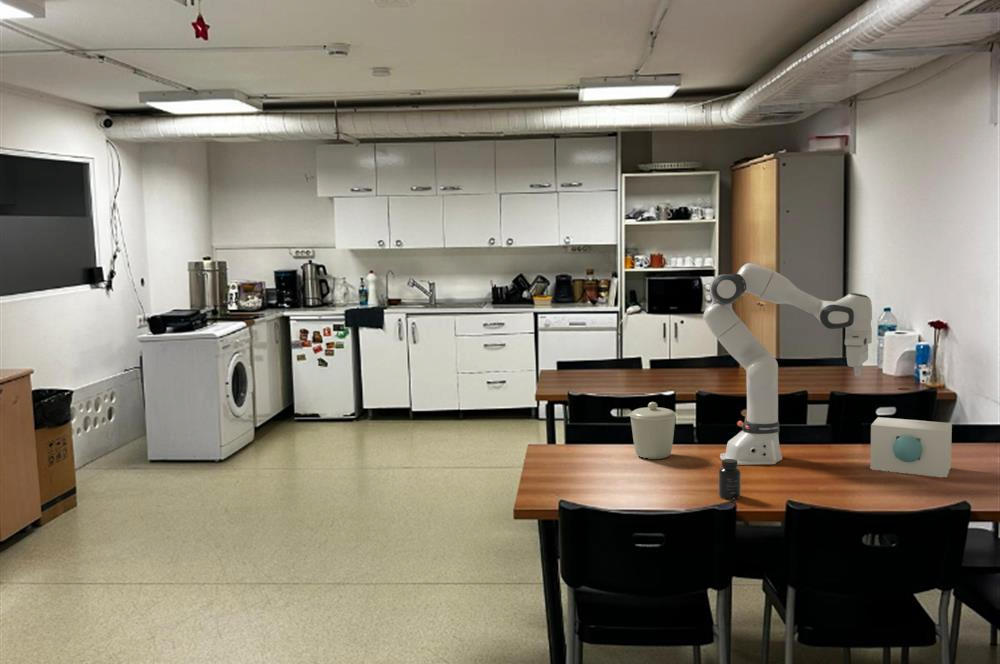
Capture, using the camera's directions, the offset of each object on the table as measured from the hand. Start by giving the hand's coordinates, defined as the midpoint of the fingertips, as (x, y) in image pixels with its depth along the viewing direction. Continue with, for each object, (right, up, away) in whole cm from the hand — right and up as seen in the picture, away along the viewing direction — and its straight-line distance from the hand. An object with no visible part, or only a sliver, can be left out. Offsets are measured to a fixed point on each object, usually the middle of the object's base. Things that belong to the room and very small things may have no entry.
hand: (857, 375), depth 319 cm
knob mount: (+14, -32, -11) cm, 37 cm away
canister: (-71, -32, +17) cm, 80 cm away
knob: (+13, -28, -13) cm, 33 cm away
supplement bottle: (-56, -37, -36) cm, 76 cm away
